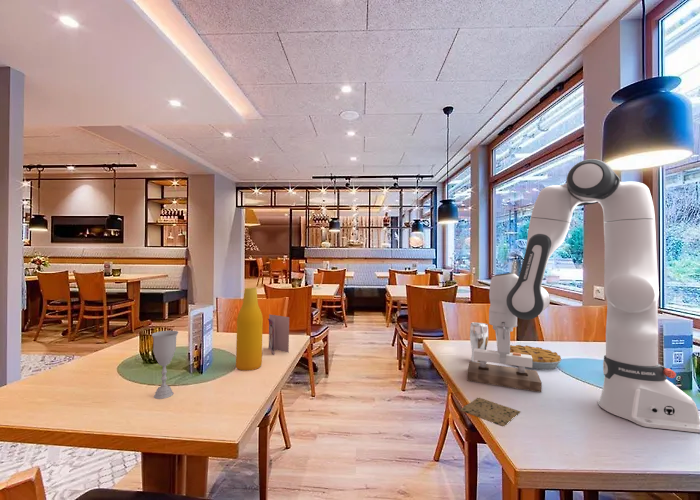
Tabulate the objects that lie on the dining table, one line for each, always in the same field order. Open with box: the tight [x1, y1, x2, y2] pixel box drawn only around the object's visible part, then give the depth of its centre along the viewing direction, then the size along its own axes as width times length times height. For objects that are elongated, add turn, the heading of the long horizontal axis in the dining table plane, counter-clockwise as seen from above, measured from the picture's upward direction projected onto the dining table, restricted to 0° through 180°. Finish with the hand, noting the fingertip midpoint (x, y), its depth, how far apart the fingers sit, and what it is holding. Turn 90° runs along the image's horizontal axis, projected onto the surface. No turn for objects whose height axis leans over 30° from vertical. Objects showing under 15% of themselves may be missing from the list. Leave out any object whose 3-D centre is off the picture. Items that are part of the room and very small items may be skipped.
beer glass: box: [469, 322, 489, 364], centre depth 133 cm, size 7×7×15 cm
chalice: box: [151, 330, 179, 400], centre depth 96 cm, size 7×7×18 cm
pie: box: [510, 344, 562, 371], centre depth 134 cm, size 22×22×5 cm
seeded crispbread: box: [460, 397, 521, 427], centre depth 90 cm, size 12×12×1 cm
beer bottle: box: [235, 287, 264, 372], centre depth 122 cm, size 9×9×29 cm
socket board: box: [466, 361, 543, 393], centre depth 113 cm, size 22×12×3 cm, turn 67°
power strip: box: [474, 348, 533, 373], centre depth 113 cm, size 18×4×6 cm, turn 67°
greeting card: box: [267, 314, 290, 356], centre depth 142 cm, size 11×7×15 cm, turn 25°
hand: (502, 360), depth 113 cm, fingers closed on power strip, 4 cm apart
